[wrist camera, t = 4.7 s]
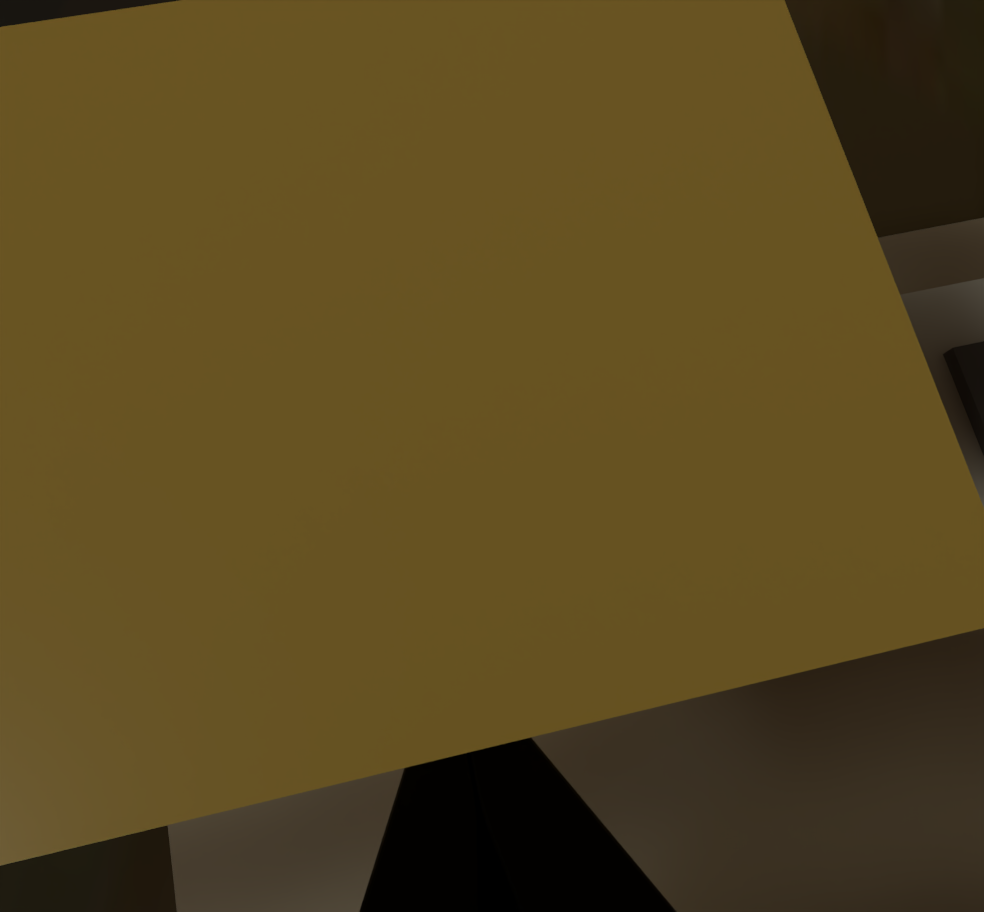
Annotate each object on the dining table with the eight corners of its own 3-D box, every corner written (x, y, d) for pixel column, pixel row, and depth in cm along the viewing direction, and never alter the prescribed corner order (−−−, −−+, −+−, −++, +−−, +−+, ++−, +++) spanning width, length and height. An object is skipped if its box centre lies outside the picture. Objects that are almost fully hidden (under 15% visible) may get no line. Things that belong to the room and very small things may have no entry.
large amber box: (612, 659, 13) (1027, 617, 3) (312, 729, 13) (-173, 905, 3) (554, 434, 14) (751, -84, 4) (275, 491, 14) (-179, 53, 4)
